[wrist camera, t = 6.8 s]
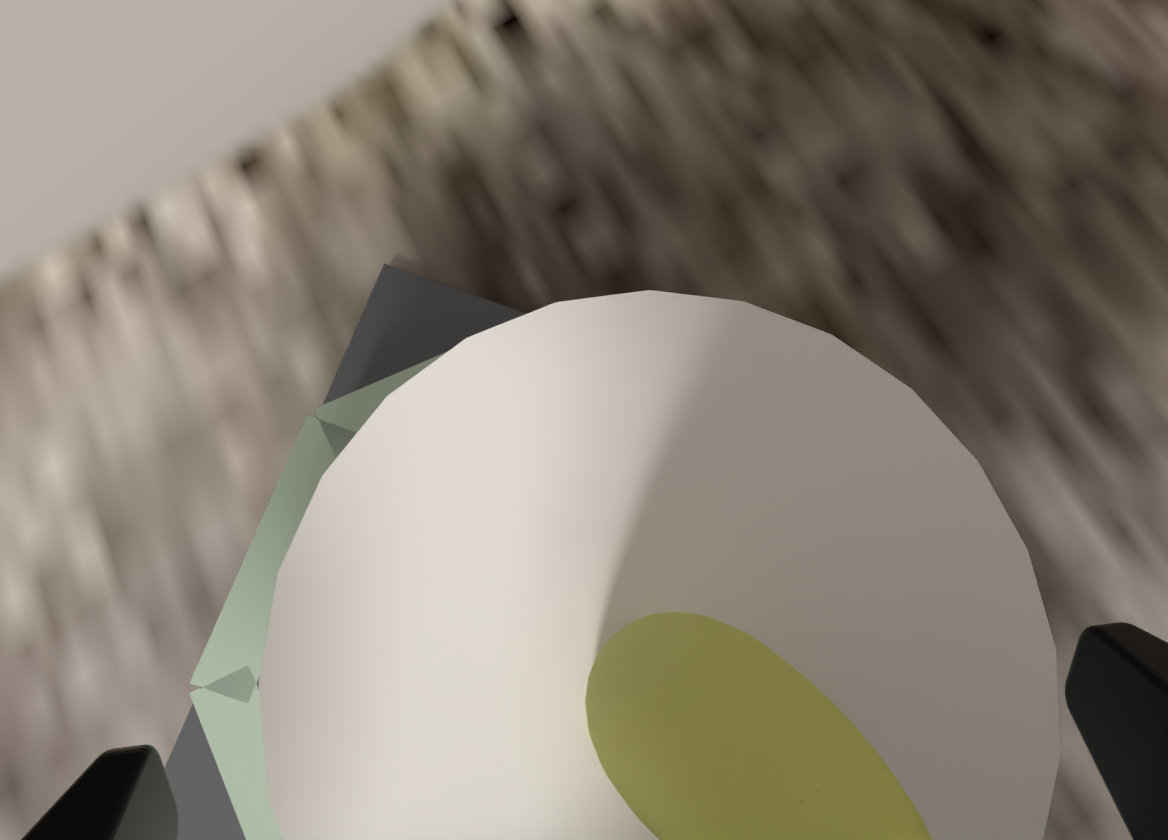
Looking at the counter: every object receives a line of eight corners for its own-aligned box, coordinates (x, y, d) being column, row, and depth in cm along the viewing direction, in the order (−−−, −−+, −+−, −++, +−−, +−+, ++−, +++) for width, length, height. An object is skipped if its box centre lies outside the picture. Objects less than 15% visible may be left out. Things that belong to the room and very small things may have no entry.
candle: (727, 488, 19) (1487, -147, 4) (755, 849, 17) (2143, 1767, 3) (400, 496, 18) (22, -206, 4) (396, 871, 17) (-306, 2193, 2)
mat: (799, 1139, 17) (806, 1150, 17) (115, 897, 17) (106, 902, 17) (954, 470, 21) (963, 465, 20) (386, 271, 21) (384, 263, 20)
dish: (786, 1109, 17) (833, 1180, 15) (145, 882, 17) (88, 915, 15) (935, 479, 20) (995, 452, 18) (397, 292, 20) (384, 239, 18)
